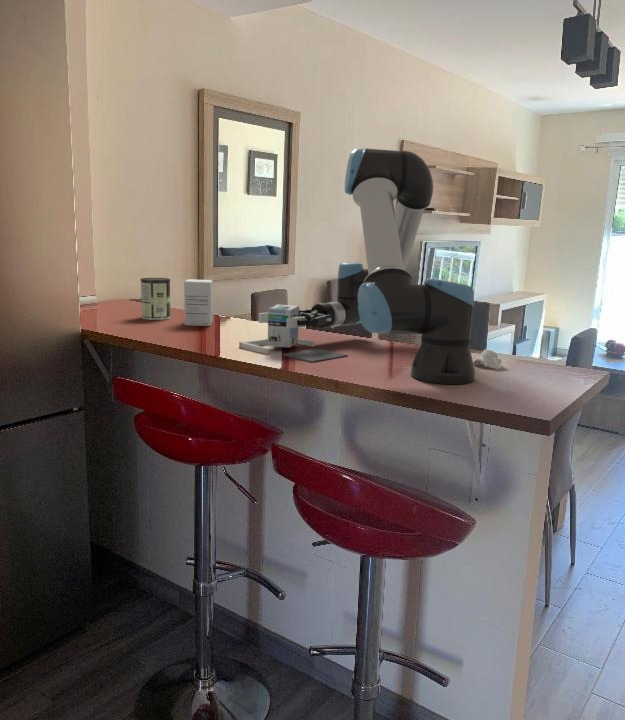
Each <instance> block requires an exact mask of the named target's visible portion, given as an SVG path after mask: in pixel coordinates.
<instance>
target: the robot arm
mask: <svg viewBox="0 0 625 720" xmlns="http://www.w3.org/2000/svg"><path fill="white" fill-rule="evenodd" d="M345 172H346V173H345V179H344V192H345V194H347V195H349V196H351V195H352V200H353V202H354V203H355V204H356V206H358V207H359V208H360V217H361V218H360V219H361V225H362V226H361V227H362V233H363V234H362V235H363V239H364V240H363V241H364V249H365V257H366V264H367V265H366V266H367V268H364V266H363V263H361V262H340V264H339V265H338V270H337V271H338V272H337V293H336V294H337V296H336V301H330V302H322V303H321V302H319V303H318V302H317V303H315V304H313V306H312V307H311V309H308V308H307V309H300V308H299V317H295V318H287V325H286V328H297V327H298V328H302V327H303V328H305V327H308V328H310V327H311V326H312V328H316V329H328V328H331V330H333V329H335V327H341V326H342V327H344V326H354V325H357V324H361V325H362V327H363V328H364V330H366V331H368V332H369V333H372V334H381V335H388V334H391V335H392V334H395V335H396V334H397V335H400V334H401V335H420V344H419V347H418V349H417V352H416V354H415V357H414V359H413V361H412V364H411V368H410V376H411V377H413V379H417V380H420V381H422V382H427V383H432V384H433V383H434V384H442V385H464V384H469V383H472V382H474V381H475V377H476V375H475V374H476V370H475V365H474V361H473V360H474V359H473V357H472V352H471V347H470V346H471V337H472V326H473V316H474V308H475V291H474V289H473V287H471V286H470V285H468V284H463V283H459V282H454V281H453V282H452V281H448V280H441V279H435V278H426V279H425V280H424V282H423V284H418V283H413V277H412V275H411V273H410V272H409V271H408V270H407V266H408V263H409V259H410V258H411V254H412V250H413V247H414V243H415V240H416V237H417V234H418V232H419V231H418V230H419V227H420V224H421V222H422V221H421V220H422V218H423V215H424V213H425V210H426V209H427V208H428V207H429V206H430V204H431V201H432V198H433V193H434V181H433V176H432V173H431V171H430V169H429V166H428V164H427V162H425V160H423V158H421V156H419V155H418V154H416V153H415V152H411V151H409V150H393V149H392V150H390V149H378V148H377V149H376V148H367V147H365V148H355V149H353V150H352V151H351V152H350V154H349V158H348V161H347V166H346V171H345ZM395 200H396V202H397V206H396V209H395V204H394V203H395V202H394V201H395ZM258 323H259V324H262V323H263V324H264V323H268V312H261V313H260V312H258Z"/></svg>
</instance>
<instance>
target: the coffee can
mask: <svg viewBox="0 0 625 720" xmlns="http://www.w3.org/2000/svg"><path fill="white" fill-rule="evenodd" d="M140 293H141V294H140V297H141V298H140V299H141V300H140V301H141V305H140V306H141V319H143V320H148V321H149V320H150V321H162V320H163V321H164V320H170V319H171V279H170V278H168V277H166V278H165V277H142V278H140Z"/></svg>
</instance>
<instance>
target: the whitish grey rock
mask: <svg viewBox="0 0 625 720" xmlns="http://www.w3.org/2000/svg"><path fill="white" fill-rule="evenodd" d="M502 362H503V361H502V359H501V357H500V354H498V353H497V352H495V351H494V350H490V349H484V350H483V351H482V352H481V353H480V356H479V355H478V356H477V358H476V359H475V360H474V361H473V364H474V366H480V365H481V364H482V365H483V366H484V367H485V368H487V367H489V368H492V369H494V370H499V369H501V368H502Z"/></svg>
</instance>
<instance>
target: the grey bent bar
mask: <svg viewBox="0 0 625 720" xmlns="http://www.w3.org/2000/svg"><path fill="white" fill-rule="evenodd" d="M238 344H239V345H238V346H239V348H240V349H244V350H247V351H248V350H249V351H252V352H255V353H260V354H265V355H269V354H270V348H269V347H265V345H267V346H268V338H263V339H262V338H261V339H254V340H247V341H239V343H238ZM296 345H302V346H305V345H306V347H310V346H311V348H314V347H313V346H316V341H314V340H309V339H305V338H299V337H298V342H297V344H296Z"/></svg>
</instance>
